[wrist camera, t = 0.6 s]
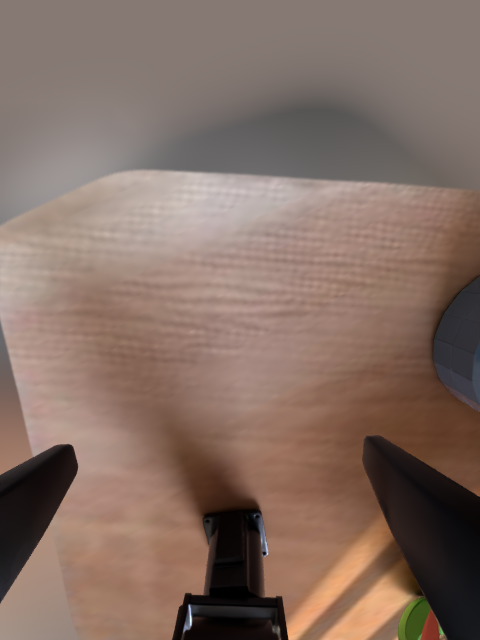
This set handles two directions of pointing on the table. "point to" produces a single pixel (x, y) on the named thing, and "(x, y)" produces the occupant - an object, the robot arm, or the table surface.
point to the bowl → (460, 346)
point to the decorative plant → (419, 622)
